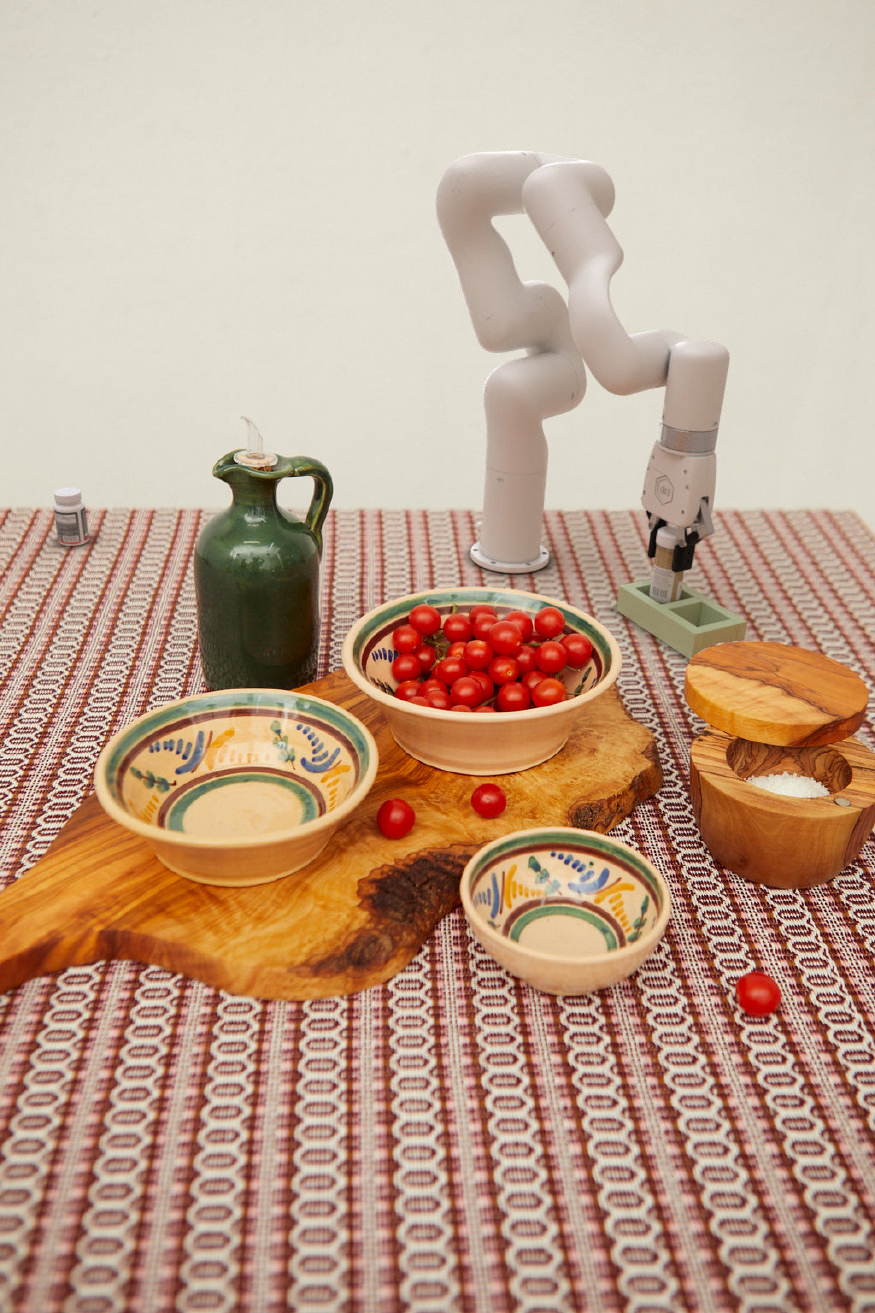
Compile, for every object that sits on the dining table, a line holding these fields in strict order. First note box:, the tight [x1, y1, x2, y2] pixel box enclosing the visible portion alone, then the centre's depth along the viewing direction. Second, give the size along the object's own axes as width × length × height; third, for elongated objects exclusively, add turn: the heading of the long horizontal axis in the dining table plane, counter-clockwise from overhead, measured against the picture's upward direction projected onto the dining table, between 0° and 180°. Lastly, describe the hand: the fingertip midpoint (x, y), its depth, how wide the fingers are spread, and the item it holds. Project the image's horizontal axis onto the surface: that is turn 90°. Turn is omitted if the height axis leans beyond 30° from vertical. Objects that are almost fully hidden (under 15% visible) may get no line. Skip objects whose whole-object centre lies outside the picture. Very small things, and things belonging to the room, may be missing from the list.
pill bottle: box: [53, 487, 90, 547], centre depth 173 cm, size 5×5×8 cm
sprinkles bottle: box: [649, 525, 691, 605], centre depth 156 cm, size 5×5×14 cm
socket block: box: [616, 578, 748, 660], centre depth 155 cm, size 9×17×4 cm, turn 28°
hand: (669, 561), depth 155 cm, fingers closed on sprinkles bottle, 4 cm apart
